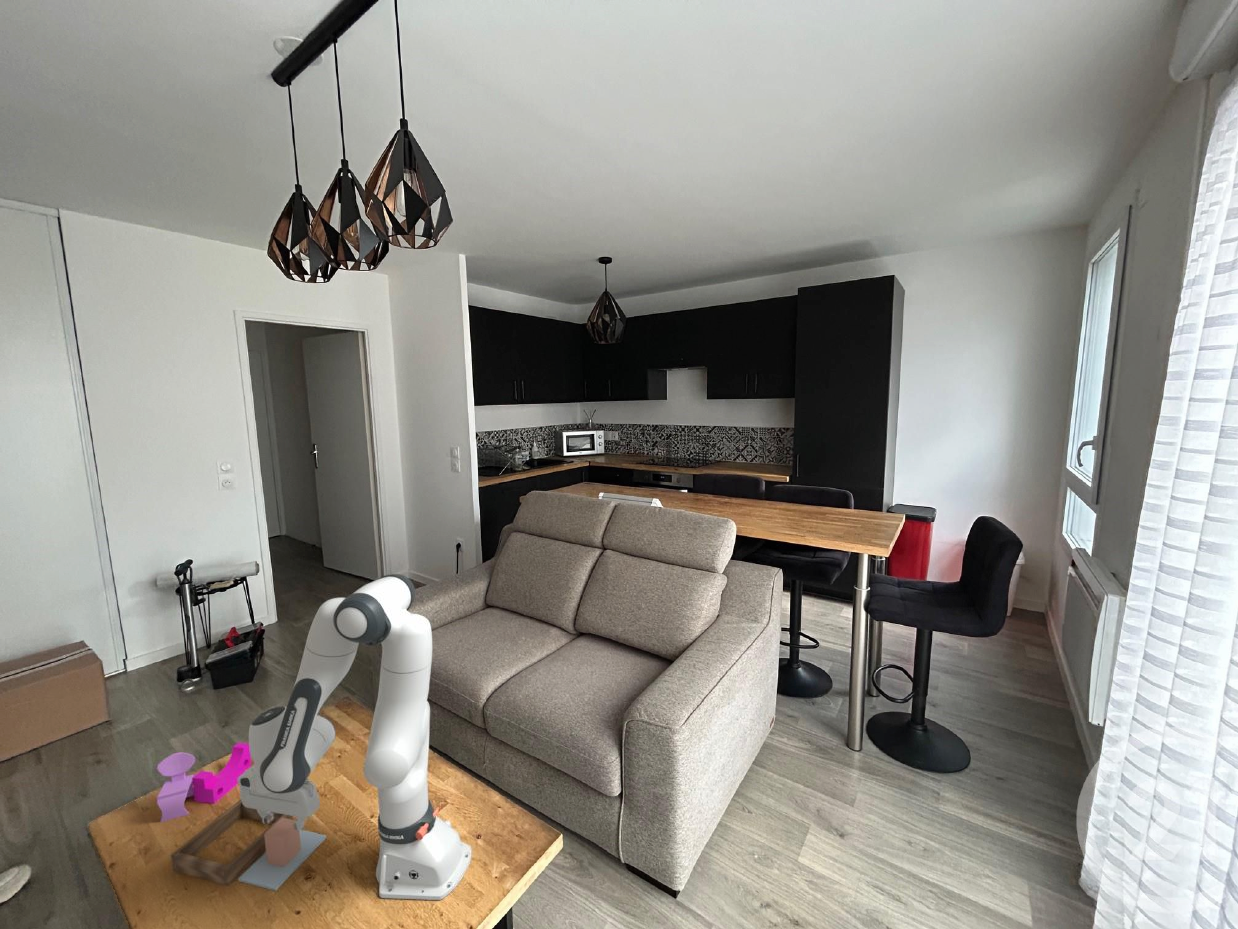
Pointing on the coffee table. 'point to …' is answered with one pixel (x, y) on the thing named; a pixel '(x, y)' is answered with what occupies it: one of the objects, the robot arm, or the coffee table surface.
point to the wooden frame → (205, 868)
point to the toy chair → (175, 785)
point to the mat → (277, 875)
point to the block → (282, 842)
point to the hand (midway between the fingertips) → (284, 825)
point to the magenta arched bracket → (222, 776)
